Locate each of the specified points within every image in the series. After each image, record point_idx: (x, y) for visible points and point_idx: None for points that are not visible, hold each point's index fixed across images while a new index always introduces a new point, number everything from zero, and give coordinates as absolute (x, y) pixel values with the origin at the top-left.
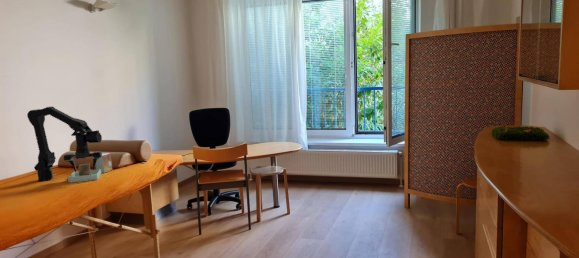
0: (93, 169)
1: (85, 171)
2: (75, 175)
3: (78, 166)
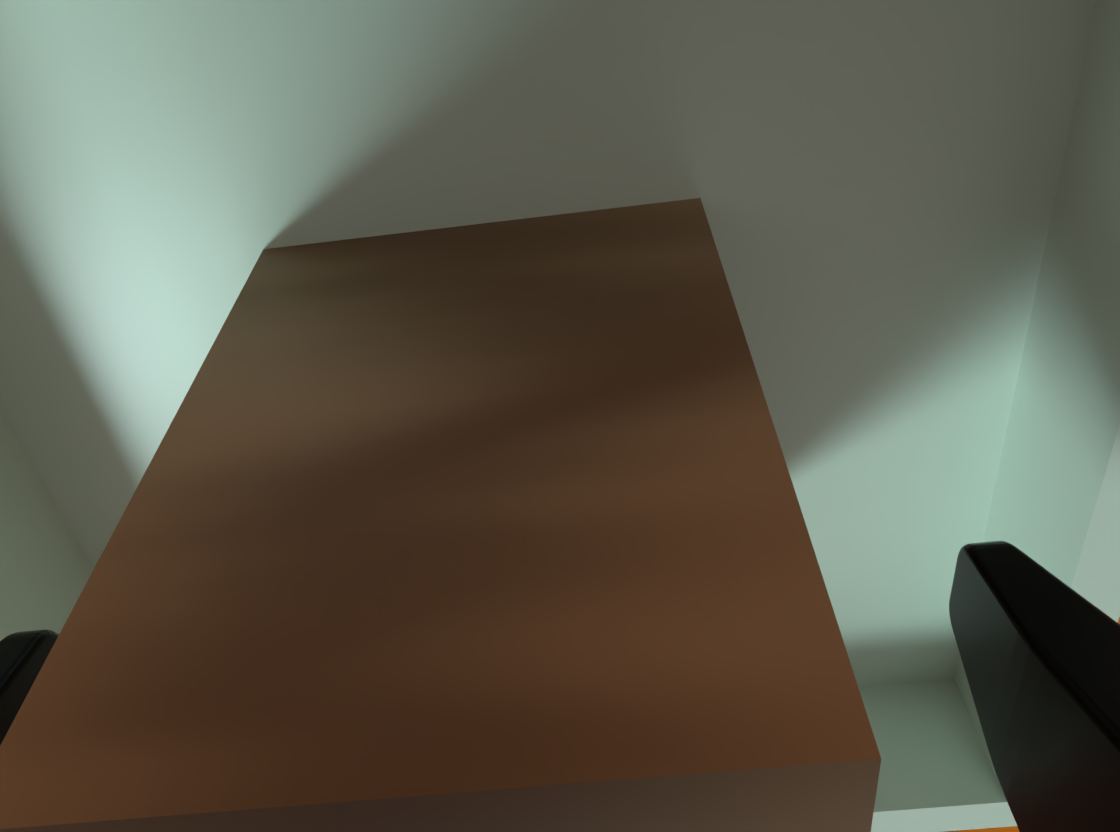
0: (13, 652)
1: (359, 426)
2: (945, 687)
3: (857, 720)
